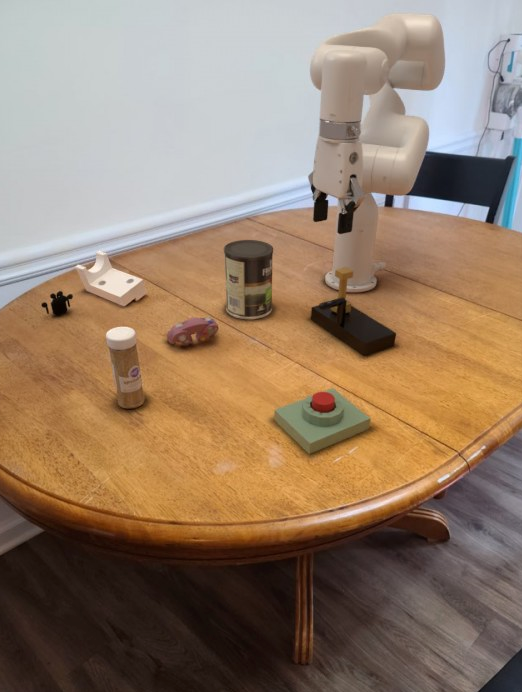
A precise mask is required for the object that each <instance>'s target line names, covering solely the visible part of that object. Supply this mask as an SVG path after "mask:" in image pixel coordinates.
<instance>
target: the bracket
mask: <svg viewBox="0 0 522 692" xmlns="http://www.w3.org/2000/svg"><path fill="white" fill-rule="evenodd" d="M95 256H96V259H95V263H94V265H93V266H92V267H91V268H89V269H87V267H86V266H83V265H81V264H77V265H75V271H76V272H77V273H78V276H79V279H80V280H81V282H82V284H83V287H84V289H85V290H86V292H88V293H91V294H93V295H96V296H98V297H100V298H102V299H105V300H107V301H110V302H112V303H115V304H117V305H119V306H122V307H126V306H127V305H129V304H130V303H131V302H132V301H133V300H134V301H136V302H137V301H139V300H140V299H141V298H143V297H144V296H146V295H147V294H148V292H149V291H148V289H147V286H146V284H145V281H144V279H142V278H141V277H138V276H135V275H132V274H129V273H127V272H125V271H121V270H119V269H116V268H114V267H113V266H112V264H111V262H110V261H111V260H110V259H109V257H108V254H107V252H104V251H103V250H102V251H101V250H99V249H98V250H97V251H95Z"/></svg>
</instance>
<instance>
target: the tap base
mask: <svg viewBox="0 0 522 692" xmlns="http://www.w3.org/2000/svg"><path fill="white" fill-rule="evenodd" d="M346 300H347V298H346V299H345V298H343V297H341V298H338V297H337V298H334V299H331V300H327V301H324V302H320V303H319V304H318V305H315V306H311V311H310V320H311V321H312V322H313V323H315V324H317V325H318V326H319V327H321V328H322V329H324V330H325V331H326V332H328V333H329V334H331V335H332V336H334V337H335V338H337V339H338V340H340V341H341V342H342V343H344V344H345V345H347V346H348V347H350V348H351V349H353V350H354V351H355V352H357V353H358V354H359V355H361V356H362V357H367V356H369V355H372V354H375V353H378V352H381V351H384V350H387V349H390V348H393V347H395V343H396V337H397V332H395V331H394V330H392V329H390V328H389V327H387V326H386V325H384V324H382V323H381V322H379V321H377V319H374V318H372V317H370V316H369V315H367V314H366V313H364V312H363V311H361V310H360V309H358V308H356V307H355V306H353V305H351V311H350V312H348V313H346V305H347V301H348V300H347V301H346ZM336 306H337V313H336V312H334V311H333V310H331V308H332V307H336Z"/></svg>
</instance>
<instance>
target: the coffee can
mask: <svg viewBox="0 0 522 692" xmlns="http://www.w3.org/2000/svg"><path fill="white" fill-rule="evenodd" d="M223 253H224V273H225V276H224V277H225V294H226V295H225V300H226V308H225V311H226V312H227V314H228V315H230V316H231V317H233V318H236V319H240V320H259V319H263V318H265V317H267V316H269V315H270V314H271V313H272V311H273V307H272V306H273V305H272V304H273V254H274V247H273V246H272V244H270V243H268V242H265V241H261V240H257V239H240V240H234V241H231V242H229V243H227V244H226V245H224V247H223Z"/></svg>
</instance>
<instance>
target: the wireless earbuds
mask: <svg viewBox="0 0 522 692" xmlns="http://www.w3.org/2000/svg"><path fill="white" fill-rule="evenodd" d="M49 298H50V299H52V301H51V302H50V308H51V311H52V314H53V315H54V316H60V315H63V314H66V313H67V312H68V308H70V307H71V302H70V300H72V299H73V298H74V295H73V294H72V293H69V294H67V295H64V292H63V291H62V290H59V291H57V292H56V293H50V295H49ZM41 307H42V308H43V309H45V310H46V315H50V310H49V306H48V303H47V302H46V301H43V302H42V303H41Z"/></svg>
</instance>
